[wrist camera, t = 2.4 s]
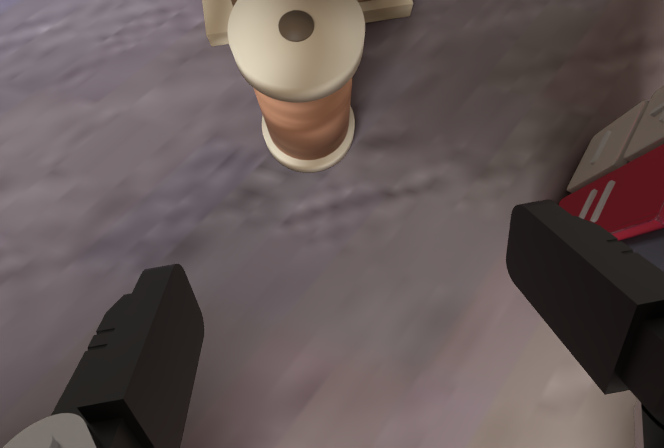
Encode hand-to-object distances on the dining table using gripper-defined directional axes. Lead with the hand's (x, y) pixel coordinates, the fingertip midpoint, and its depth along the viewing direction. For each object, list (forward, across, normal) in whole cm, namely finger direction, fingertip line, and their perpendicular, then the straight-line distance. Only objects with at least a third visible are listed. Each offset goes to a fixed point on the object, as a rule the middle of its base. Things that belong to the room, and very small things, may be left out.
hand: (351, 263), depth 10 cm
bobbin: (+19, 0, +3) cm, 19 cm away
